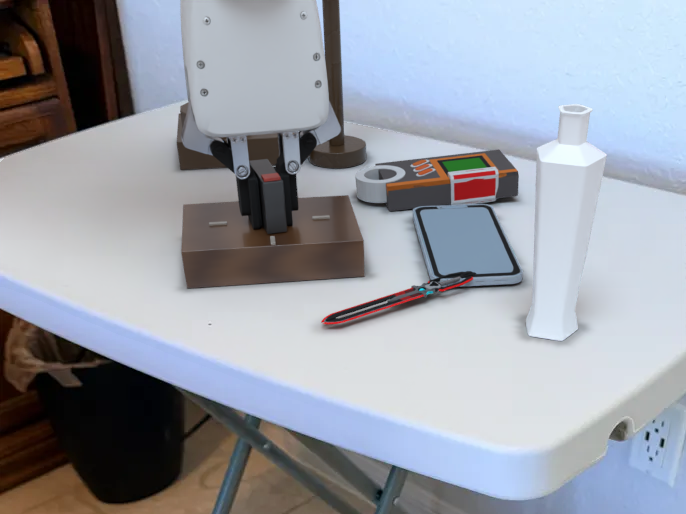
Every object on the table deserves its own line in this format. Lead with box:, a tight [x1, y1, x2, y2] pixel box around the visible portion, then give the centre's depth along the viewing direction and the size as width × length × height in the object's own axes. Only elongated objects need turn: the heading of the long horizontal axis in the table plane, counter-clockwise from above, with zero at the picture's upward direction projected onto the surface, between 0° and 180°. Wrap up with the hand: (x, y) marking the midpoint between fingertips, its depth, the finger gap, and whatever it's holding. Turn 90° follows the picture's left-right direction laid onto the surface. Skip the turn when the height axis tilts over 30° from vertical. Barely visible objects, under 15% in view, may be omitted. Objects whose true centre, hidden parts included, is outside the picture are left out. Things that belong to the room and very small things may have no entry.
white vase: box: [525, 103, 608, 342], centre depth 62 cm, size 5×4×15 cm
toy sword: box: [320, 271, 476, 325], centre depth 70 cm, size 2×14×1 cm, turn 124°
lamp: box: [307, 0, 367, 169], centre depth 88 cm, size 8×8×26 cm
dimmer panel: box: [180, 194, 366, 289], centre depth 76 cm, size 14×10×3 cm
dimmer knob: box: [249, 159, 287, 234], centre depth 74 cm, size 6×2×4 cm, turn 19°
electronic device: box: [354, 149, 520, 212], centre depth 87 cm, size 7×3×15 cm
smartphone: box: [412, 203, 524, 288], centre depth 78 cm, size 7×1×15 cm
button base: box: [176, 102, 279, 171], centre depth 96 cm, size 12×10×4 cm
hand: (270, 219), depth 75 cm, fingers closed on dimmer knob, 2 cm apart
